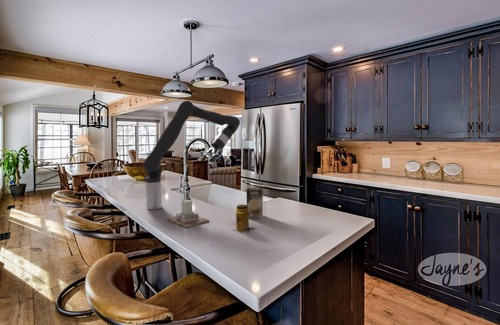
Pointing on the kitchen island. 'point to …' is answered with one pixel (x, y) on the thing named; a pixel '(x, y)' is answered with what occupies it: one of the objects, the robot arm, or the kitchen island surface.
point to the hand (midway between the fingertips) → (205, 161)
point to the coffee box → (255, 202)
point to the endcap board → (187, 220)
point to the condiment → (242, 219)
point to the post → (186, 207)
